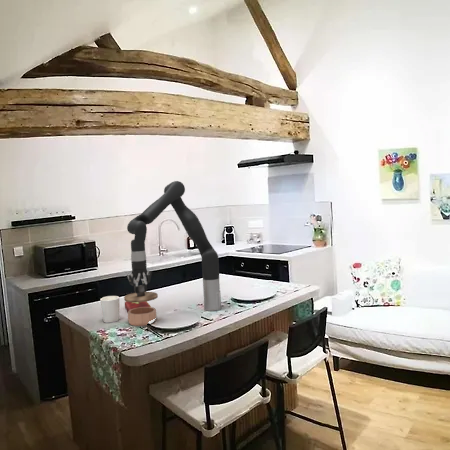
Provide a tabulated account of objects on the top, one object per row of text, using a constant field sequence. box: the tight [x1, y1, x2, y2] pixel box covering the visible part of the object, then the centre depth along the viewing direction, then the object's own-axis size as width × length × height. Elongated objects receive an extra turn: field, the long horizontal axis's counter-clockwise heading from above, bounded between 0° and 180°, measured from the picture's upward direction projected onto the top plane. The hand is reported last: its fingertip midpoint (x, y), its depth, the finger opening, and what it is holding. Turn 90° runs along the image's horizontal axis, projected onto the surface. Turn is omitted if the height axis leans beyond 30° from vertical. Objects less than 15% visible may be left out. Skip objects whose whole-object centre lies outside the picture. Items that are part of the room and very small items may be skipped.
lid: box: [123, 284, 159, 302], centre depth 229 cm, size 17×17×6 cm
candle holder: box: [99, 295, 120, 324], centre depth 235 cm, size 10×10×12 cm
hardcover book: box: [124, 301, 152, 312], centre depth 253 cm, size 12×21×4 cm, turn 20°
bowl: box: [127, 306, 157, 327], centre depth 230 cm, size 14×14×6 cm
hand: (140, 292), depth 229 cm, fingers closed on lid, 4 cm apart
